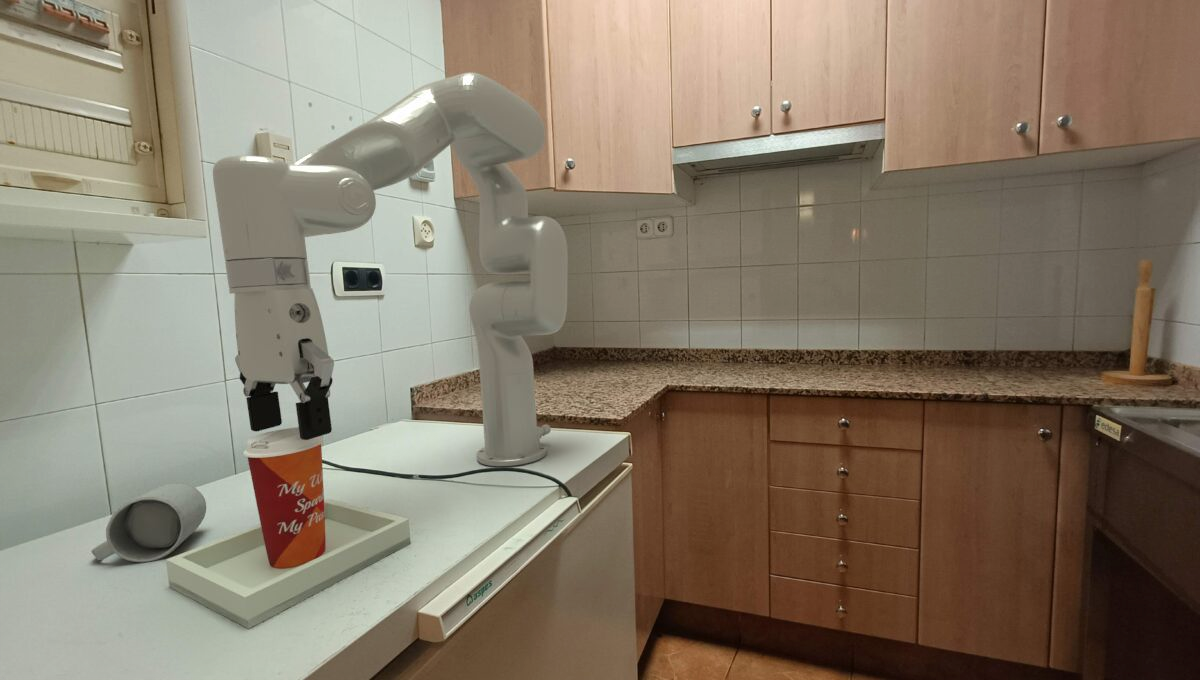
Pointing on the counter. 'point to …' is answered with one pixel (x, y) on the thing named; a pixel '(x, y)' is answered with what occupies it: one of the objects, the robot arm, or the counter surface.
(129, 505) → the ceramic mug
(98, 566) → the counter surface
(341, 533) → the sage tray
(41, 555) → the counter surface
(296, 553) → the paper cup
